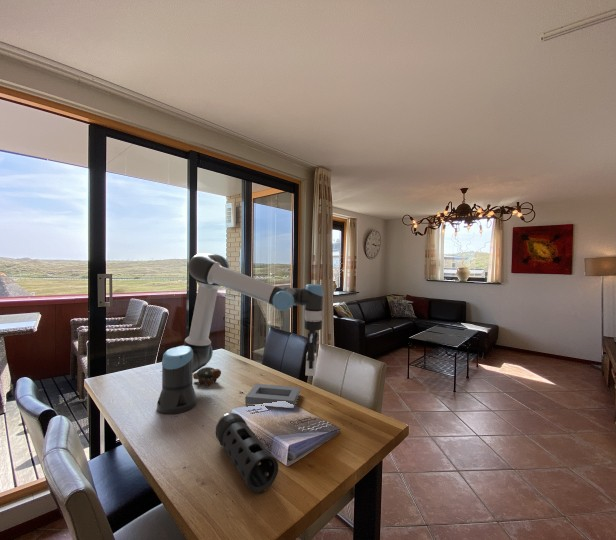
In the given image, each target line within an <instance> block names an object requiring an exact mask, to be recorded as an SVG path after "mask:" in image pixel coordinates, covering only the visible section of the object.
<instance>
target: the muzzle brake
mask: <svg viewBox="0 0 616 540" xmlns="http://www.w3.org/2000/svg"><path fill="white" fill-rule="evenodd" d="M215 438H216V440H217V441H218V443H220V446H222V447H223V448H224V450H225V452H226V453H227V455H228V456H229V459H230V460H231V461H232V463H233V464H234V466H235V468H236V470H237V471H238V473H239V474H240V476H241V477H242V480H243V481H244V483H245V484H246V486H247V488H248V489H249V490H250V491H251V492H253V493H259V494H262V493H264V492H265V491H266V490H267V489H268V488H269V487H271V486H272V484H273V483H274V482H275V480H276V478H277V476H278V472H279V462H278V459H276V458H275V457H274V455H273V454H272V452H270V450H269V449H268V448H267V447H266V445H264V443H263V442H262V441H261V439H260V438H258V436H257V435H256V433H254V432H253V430H252V428H250V427H249V426H248V424H247V422H246V421H245V419H244V418H243V417H242V416H241V415H240V414H238V413H234V412H227V413H225V414H223V415H222V416H221V417H220V418H219V419H218V421H217V422H216V426H215Z"/></svg>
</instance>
